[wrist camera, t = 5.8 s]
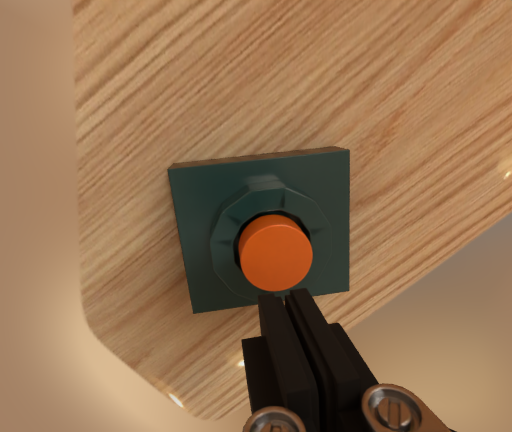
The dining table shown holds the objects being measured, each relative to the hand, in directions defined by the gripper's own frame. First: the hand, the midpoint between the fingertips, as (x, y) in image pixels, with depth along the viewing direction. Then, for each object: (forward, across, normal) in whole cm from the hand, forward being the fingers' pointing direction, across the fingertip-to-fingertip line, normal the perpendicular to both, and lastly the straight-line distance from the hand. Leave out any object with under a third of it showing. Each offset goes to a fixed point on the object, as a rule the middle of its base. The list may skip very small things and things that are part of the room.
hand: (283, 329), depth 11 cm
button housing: (+10, -1, 0) cm, 10 cm away
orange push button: (+7, -1, 0) cm, 7 cm away
